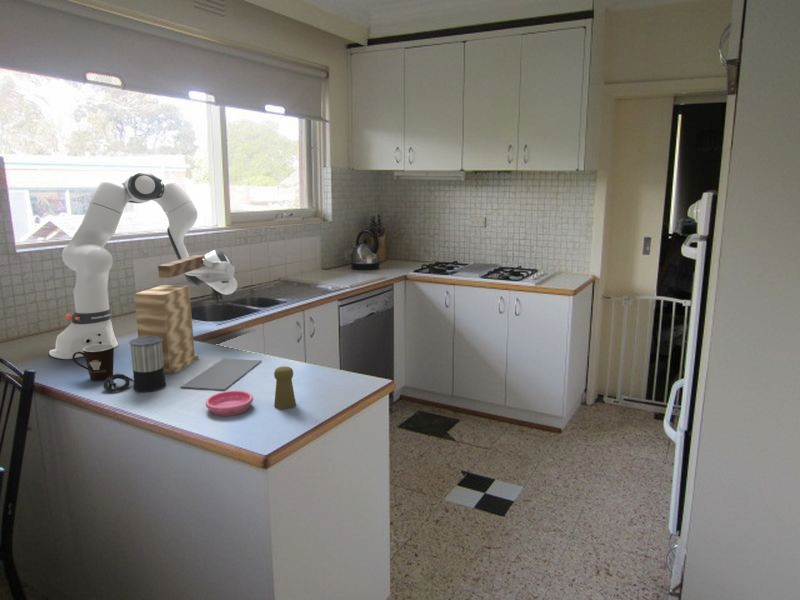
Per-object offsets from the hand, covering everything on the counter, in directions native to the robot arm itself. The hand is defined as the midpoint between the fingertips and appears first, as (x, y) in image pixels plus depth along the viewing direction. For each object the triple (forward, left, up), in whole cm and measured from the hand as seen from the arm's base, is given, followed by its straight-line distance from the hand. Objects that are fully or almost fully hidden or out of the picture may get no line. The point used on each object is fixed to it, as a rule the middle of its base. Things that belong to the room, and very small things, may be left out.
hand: (195, 260), depth 208 cm
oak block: (-21, -9, -33) cm, 40 cm away
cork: (-25, -67, -33) cm, 79 cm away
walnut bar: (-8, -4, -3) cm, 9 cm away
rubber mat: (-17, -32, -33) cm, 49 cm away
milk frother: (-39, -20, -33) cm, 55 cm away
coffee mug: (-41, -1, -33) cm, 52 cm away
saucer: (-35, -56, -33) cm, 74 cm away
